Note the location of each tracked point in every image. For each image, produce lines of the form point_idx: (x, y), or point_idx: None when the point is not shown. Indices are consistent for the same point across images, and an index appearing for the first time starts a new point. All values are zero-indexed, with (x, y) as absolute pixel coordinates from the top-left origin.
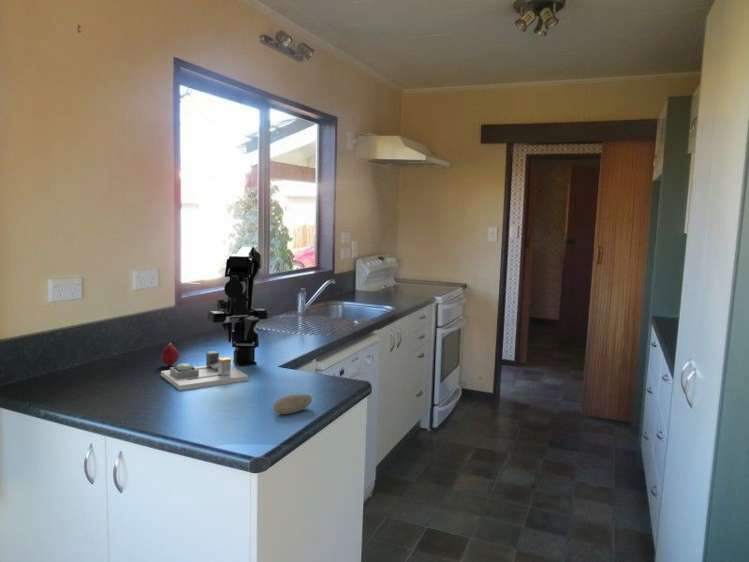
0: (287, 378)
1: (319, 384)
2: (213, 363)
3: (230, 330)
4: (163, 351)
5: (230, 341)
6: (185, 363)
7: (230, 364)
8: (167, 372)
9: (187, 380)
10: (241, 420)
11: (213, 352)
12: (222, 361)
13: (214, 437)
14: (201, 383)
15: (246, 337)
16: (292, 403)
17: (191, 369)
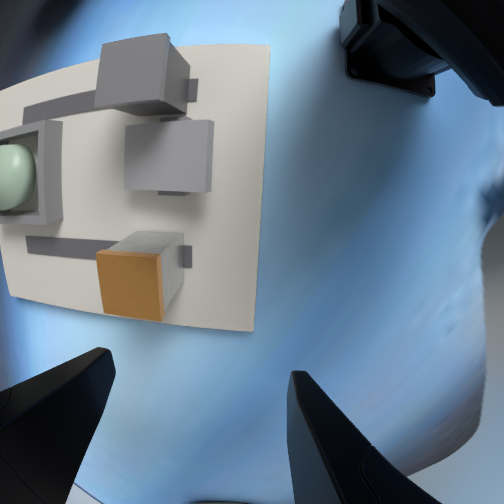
0: (397, 362)
1: (409, 432)
2: (141, 126)
3: (56, 490)
4: None
5: (110, 380)
6: (9, 148)
7: (167, 304)
8: (3, 118)
9: (27, 256)
10: (129, 483)
11: (127, 82)
12: (111, 311)
13: (87, 484)
14: (62, 304)
15: (287, 430)
16: None
17: (31, 190)
